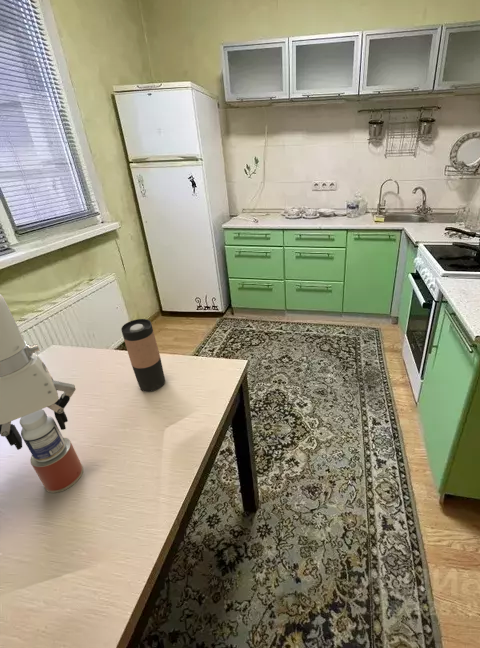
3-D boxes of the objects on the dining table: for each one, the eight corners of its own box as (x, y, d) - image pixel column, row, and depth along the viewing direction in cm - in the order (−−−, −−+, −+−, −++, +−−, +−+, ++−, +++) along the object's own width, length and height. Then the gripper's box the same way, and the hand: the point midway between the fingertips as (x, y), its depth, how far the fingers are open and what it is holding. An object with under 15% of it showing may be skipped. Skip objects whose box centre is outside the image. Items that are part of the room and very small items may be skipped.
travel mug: (134, 383, 96) (116, 325, 87) (160, 371, 100) (145, 315, 91) (144, 396, 91) (126, 336, 82) (170, 384, 95) (155, 325, 86)
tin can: (39, 497, 65) (23, 471, 62) (51, 467, 72) (37, 441, 68) (78, 487, 67) (65, 461, 64) (86, 458, 73) (75, 433, 70)
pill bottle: (37, 446, 67) (17, 411, 62) (67, 436, 69) (50, 402, 65) (32, 467, 63) (11, 431, 58) (64, 455, 65) (46, 420, 60)
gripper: (59, 334, 63) (87, 403, 71) (-63, 371, 53) (-14, 446, 61) (64, 351, 57) (94, 423, 66) (-71, 395, 48) (-16, 474, 56)
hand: (41, 434), depth 63 cm, fingers open, 6 cm apart
